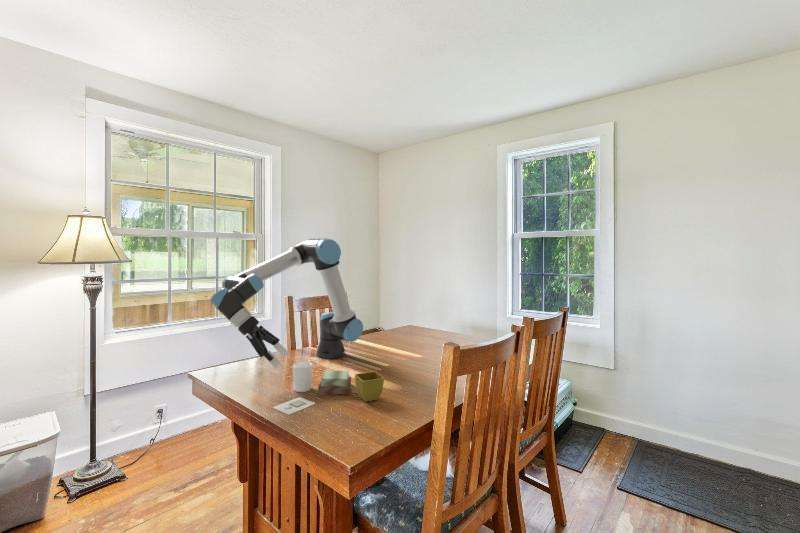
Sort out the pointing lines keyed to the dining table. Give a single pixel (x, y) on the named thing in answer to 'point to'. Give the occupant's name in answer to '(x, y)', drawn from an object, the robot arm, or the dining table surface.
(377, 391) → the flower pot
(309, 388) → the white cup
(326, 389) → the tower base
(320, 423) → the dining table surface
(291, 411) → the page
